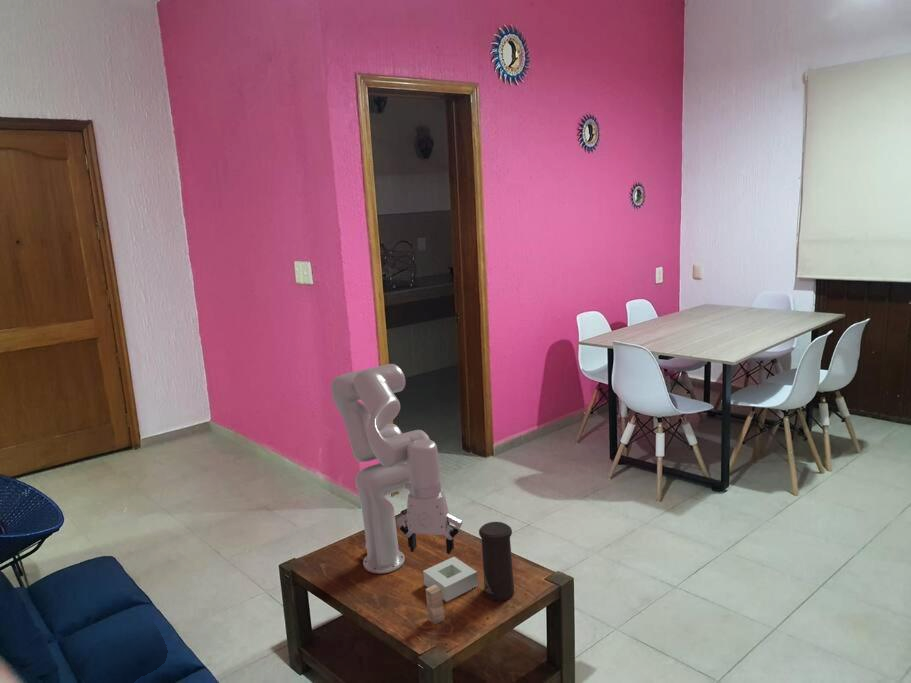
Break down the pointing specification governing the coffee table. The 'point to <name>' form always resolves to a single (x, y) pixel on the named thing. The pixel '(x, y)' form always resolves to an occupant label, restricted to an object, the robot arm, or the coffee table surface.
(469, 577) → the grey square socket block
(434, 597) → the birch stick
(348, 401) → the robot arm
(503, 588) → the container
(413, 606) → the coffee table surface
